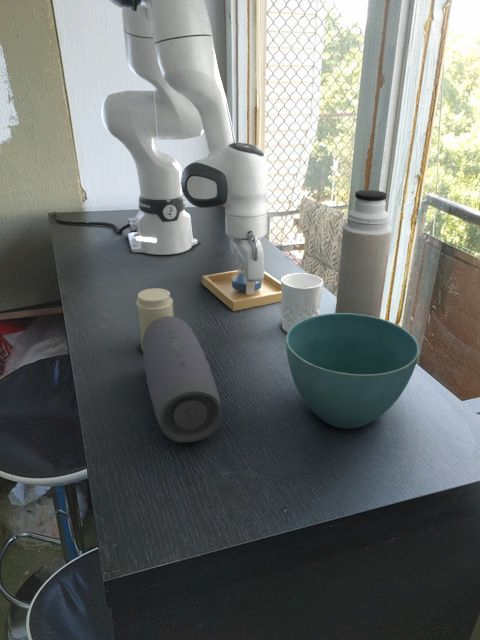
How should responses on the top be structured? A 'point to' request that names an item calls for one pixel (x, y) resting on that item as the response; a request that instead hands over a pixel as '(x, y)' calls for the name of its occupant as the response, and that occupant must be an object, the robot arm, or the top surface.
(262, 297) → the tray
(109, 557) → the top surface
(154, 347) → the bluetooth speaker
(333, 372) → the teal bowl
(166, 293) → the jar
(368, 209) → the thermos bottle
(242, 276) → the jar lid
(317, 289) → the white cup
